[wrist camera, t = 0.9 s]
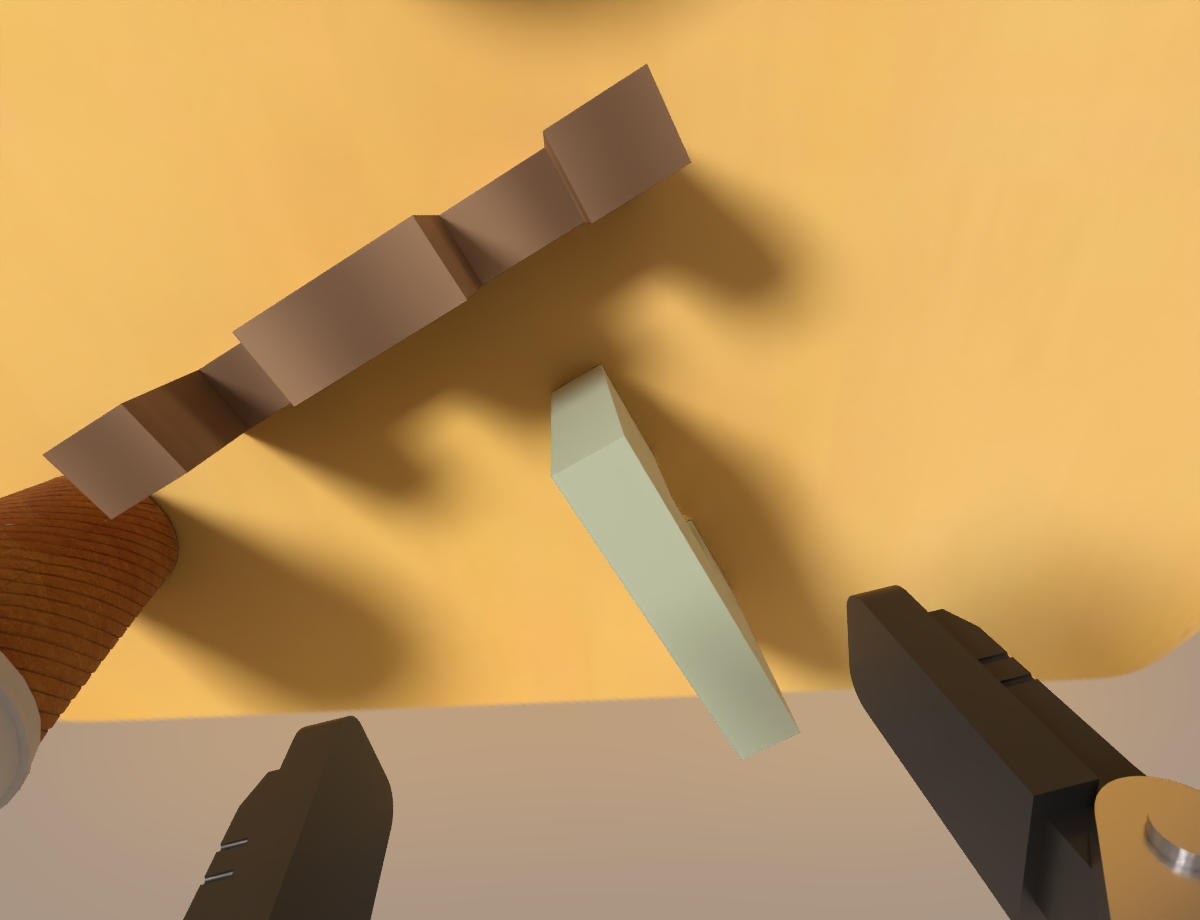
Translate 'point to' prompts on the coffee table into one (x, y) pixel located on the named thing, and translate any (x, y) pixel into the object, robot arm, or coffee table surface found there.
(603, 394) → the cross piece
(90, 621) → the disposable coffee cup
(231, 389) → the rail
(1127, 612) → the coffee table surface
